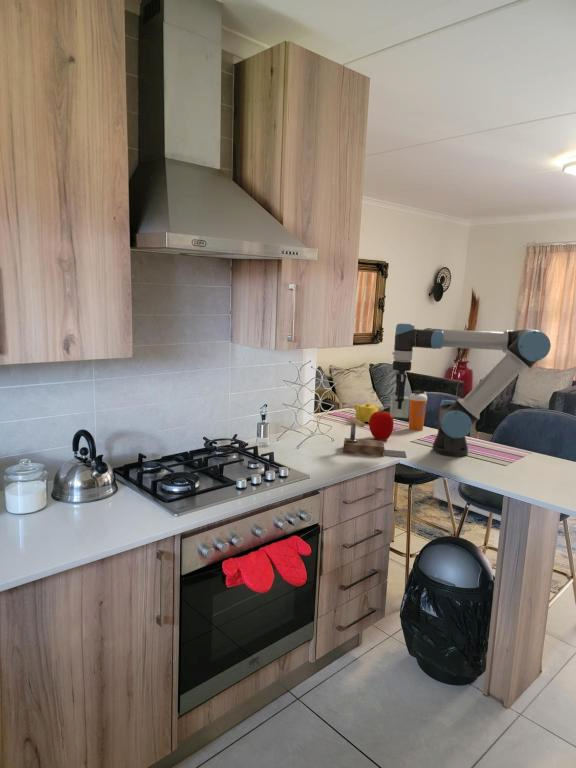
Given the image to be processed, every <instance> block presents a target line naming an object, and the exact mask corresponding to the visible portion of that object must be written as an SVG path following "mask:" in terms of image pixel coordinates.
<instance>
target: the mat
mask: <svg viewBox="0 0 576 768" xmlns="http://www.w3.org/2000/svg"><path fill="white" fill-rule="evenodd" d="M384 456H385V457H392V458H403V459H407V457H408V456H407V453H406V451H405V450H395V449H394V450H392V449H384Z"/></svg>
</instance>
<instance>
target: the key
mask: <svg viewBox="0 0 576 768" xmlns="http://www.w3.org/2000/svg"><path fill="white" fill-rule="evenodd" d="M349 422H350V423H351V424H350V434H349V435H350V437H347V438H348V439H347V441H349V442H357V441H358V440H357V439H358V438H356V426H358V427H360V428H365V427H366V423H365V422H361V421H360V420H358V419H356V418H355V417H352V416H351V417H350V418H349Z"/></svg>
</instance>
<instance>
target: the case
mask: <svg viewBox="0 0 576 768" xmlns="http://www.w3.org/2000/svg"><path fill="white" fill-rule="evenodd" d="M348 438H349V437H344V439H343V454H350V455H351V454H353V455H362V456H363V455H365V456H374V457H375V456H376V457H384V456H385V453H384V450H385V440H377V439H375V440H374V439H363V438H362V439H361V438H356V439H357V440H358V441H357V442H349V441H347V439H348Z"/></svg>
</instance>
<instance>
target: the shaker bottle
mask: <svg viewBox="0 0 576 768" xmlns="http://www.w3.org/2000/svg"><path fill="white" fill-rule="evenodd" d="M412 392H413V393H411V394H410V395H409V399H410V402H409V414H408V419H409V420H408V421H409V422H408V429H409V430H411V431H415V432H416V431H417V432H419V431H423V430H424V424H425V418H426V417H425V415H426V408H427V403H428V402H427V401H428V396H427V391H424V390H421V389H420V390H413V391H412Z"/></svg>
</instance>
